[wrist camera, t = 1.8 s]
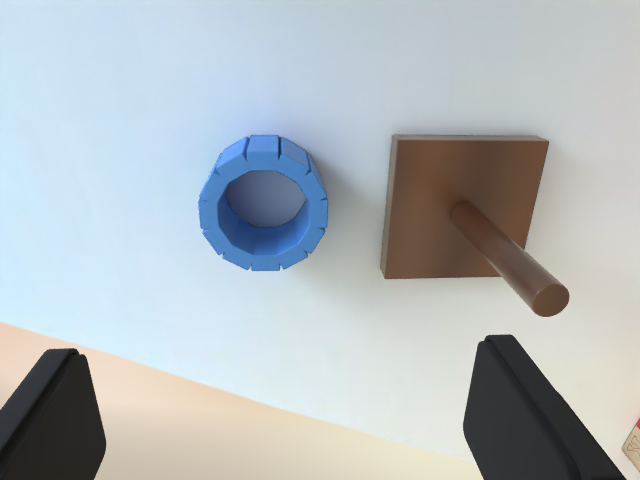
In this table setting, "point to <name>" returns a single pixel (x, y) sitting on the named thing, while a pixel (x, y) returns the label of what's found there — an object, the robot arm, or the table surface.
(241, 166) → the blue grooved ring
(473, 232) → the tape peg
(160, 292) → the table surface
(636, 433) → the stack of blocks
